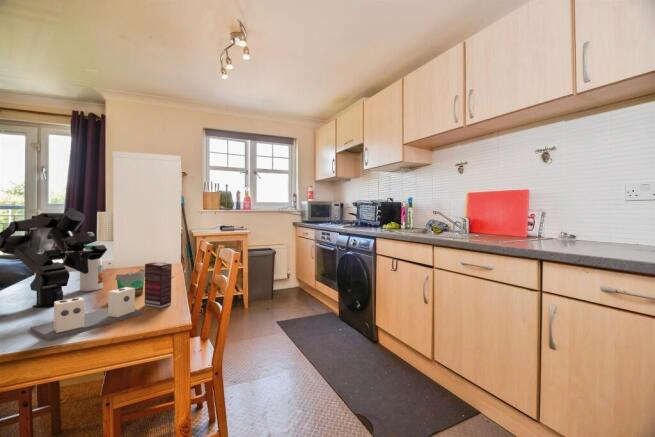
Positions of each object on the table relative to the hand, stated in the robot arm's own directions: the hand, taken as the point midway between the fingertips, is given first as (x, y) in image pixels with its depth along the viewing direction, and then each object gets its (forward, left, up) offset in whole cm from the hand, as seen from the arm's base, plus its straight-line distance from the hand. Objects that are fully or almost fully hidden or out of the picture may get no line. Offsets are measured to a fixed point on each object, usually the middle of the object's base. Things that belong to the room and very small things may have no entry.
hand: (86, 272), depth 99 cm
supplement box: (+21, +6, -14) cm, 26 cm away
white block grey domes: (+8, -18, -12) cm, 23 cm away
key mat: (+8, -10, -14) cm, 19 cm away
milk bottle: (-18, +28, -14) cm, 36 cm away
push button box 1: (+15, -6, -12) cm, 21 cm away
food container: (+6, +18, -14) cm, 24 cm away
